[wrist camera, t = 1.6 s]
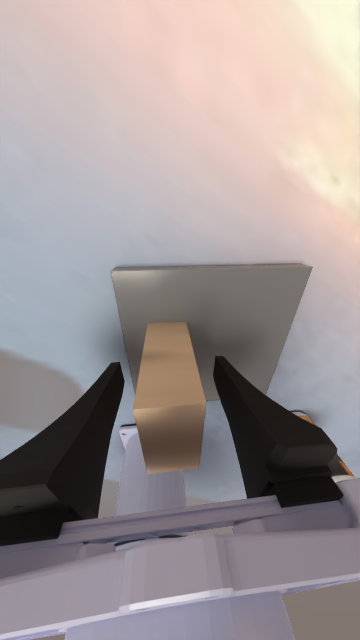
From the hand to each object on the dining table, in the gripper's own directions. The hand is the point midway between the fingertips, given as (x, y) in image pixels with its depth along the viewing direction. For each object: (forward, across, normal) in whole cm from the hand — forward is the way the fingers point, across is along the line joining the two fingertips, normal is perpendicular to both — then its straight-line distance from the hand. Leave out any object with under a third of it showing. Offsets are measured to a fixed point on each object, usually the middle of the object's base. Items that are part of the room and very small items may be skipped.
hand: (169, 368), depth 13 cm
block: (+2, 0, 0) cm, 2 cm away
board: (+3, -4, 0) cm, 5 cm away
